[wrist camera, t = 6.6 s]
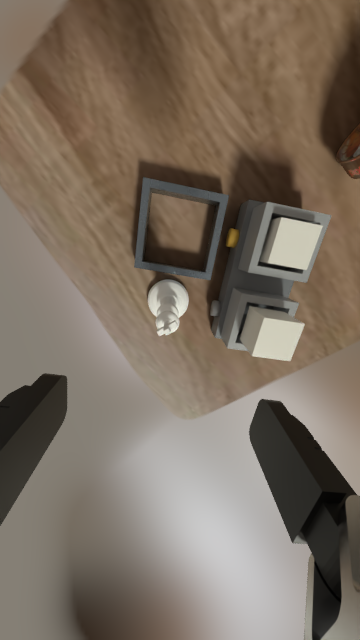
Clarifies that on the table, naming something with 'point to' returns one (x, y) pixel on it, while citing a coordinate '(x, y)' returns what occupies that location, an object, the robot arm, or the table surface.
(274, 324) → the breaker
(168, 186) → the frame
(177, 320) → the chess piece
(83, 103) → the table surface
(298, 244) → the white square block
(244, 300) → the yellow-knobbed grey box
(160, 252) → the table surface
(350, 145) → the tin
